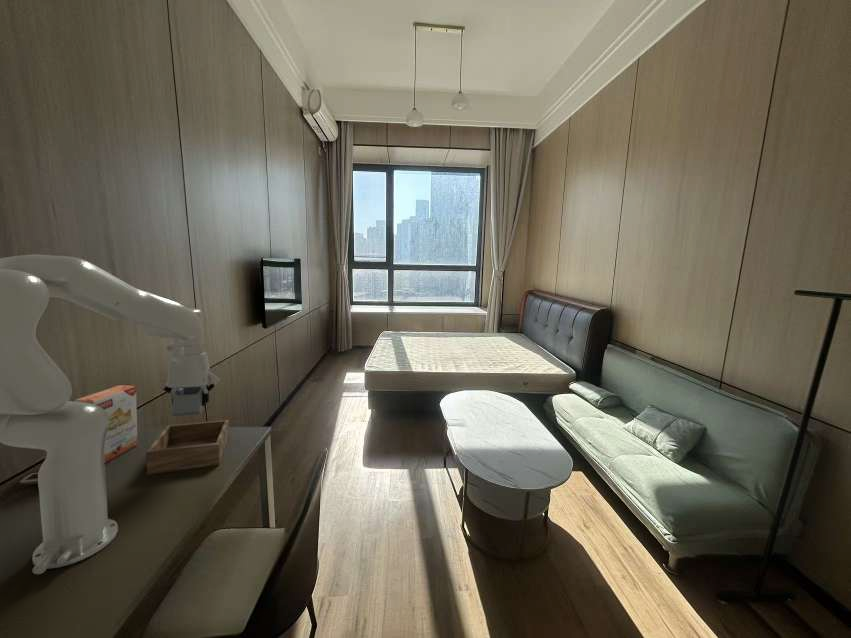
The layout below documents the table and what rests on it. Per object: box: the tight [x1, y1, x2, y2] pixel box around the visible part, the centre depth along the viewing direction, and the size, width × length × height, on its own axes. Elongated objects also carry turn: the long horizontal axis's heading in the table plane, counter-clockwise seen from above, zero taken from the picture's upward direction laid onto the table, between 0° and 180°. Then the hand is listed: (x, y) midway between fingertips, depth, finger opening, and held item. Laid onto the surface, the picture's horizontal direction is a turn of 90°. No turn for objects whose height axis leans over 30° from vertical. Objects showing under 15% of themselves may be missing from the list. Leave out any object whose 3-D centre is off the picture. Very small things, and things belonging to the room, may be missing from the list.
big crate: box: [145, 419, 230, 476], centre depth 106 cm, size 18×18×7 cm
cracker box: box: [74, 384, 138, 464], centre depth 102 cm, size 14×6×21 cm, turn 179°
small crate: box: [171, 387, 206, 417], centre depth 101 cm, size 9×7×6 cm
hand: (191, 405), depth 101 cm, fingers closed on small crate, 6 cm apart
